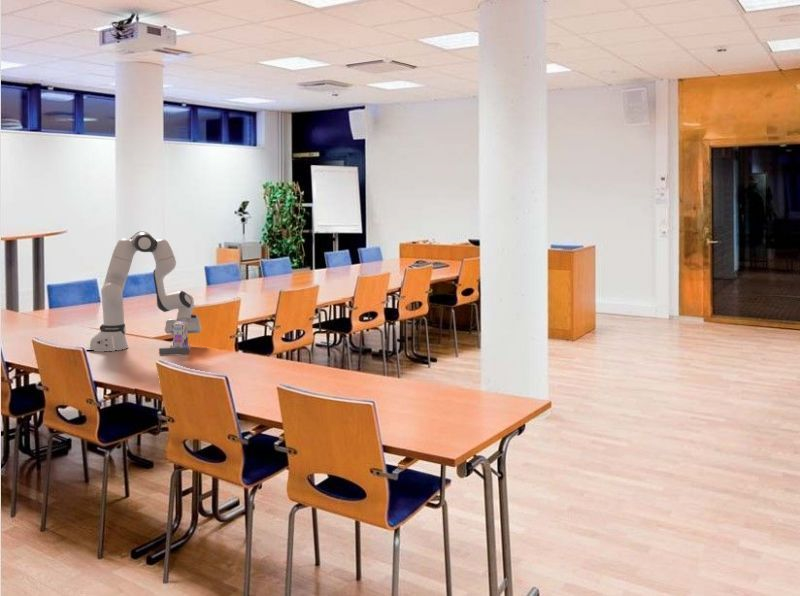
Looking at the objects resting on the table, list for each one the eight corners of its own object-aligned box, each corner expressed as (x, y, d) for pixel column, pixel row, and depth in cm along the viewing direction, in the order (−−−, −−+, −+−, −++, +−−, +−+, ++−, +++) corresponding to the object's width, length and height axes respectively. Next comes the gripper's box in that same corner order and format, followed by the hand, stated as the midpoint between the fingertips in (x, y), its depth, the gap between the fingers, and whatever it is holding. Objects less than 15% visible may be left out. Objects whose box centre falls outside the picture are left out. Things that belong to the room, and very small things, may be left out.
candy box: (183, 353, 412) (182, 324, 409) (173, 353, 411) (171, 324, 409) (188, 348, 425) (187, 320, 423) (178, 348, 425) (177, 320, 422)
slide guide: (159, 354, 407) (159, 348, 407) (166, 348, 426) (166, 342, 425) (189, 354, 409) (188, 348, 408) (195, 347, 427) (194, 341, 427)
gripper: (165, 316, 433) (162, 335, 425) (200, 315, 435) (198, 335, 426) (167, 322, 438) (164, 341, 430) (202, 322, 440) (200, 341, 431)
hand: (181, 338), depth 428 cm, fingers closed
